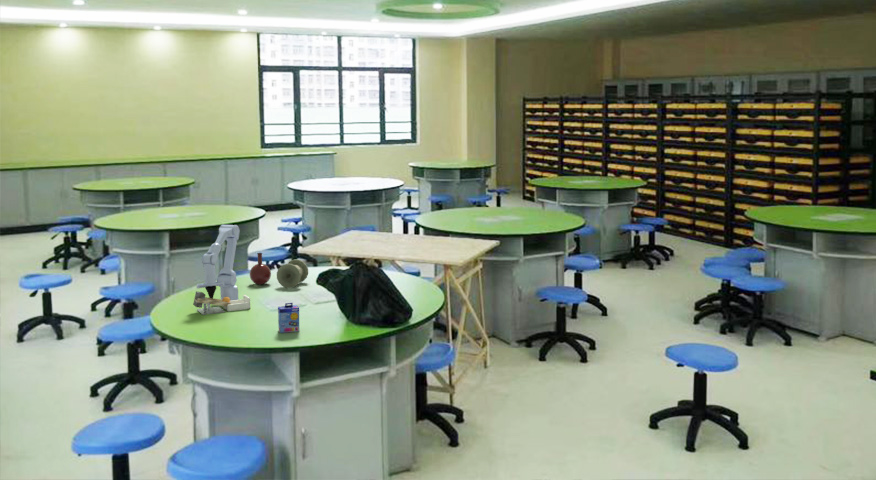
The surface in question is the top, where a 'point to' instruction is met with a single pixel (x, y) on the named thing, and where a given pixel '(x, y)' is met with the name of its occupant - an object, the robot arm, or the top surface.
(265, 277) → the round-bottom flask
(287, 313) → the ink cartridge box
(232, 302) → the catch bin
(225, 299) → the ball
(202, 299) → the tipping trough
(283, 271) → the spool
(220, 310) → the lever stand
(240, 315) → the top surface
